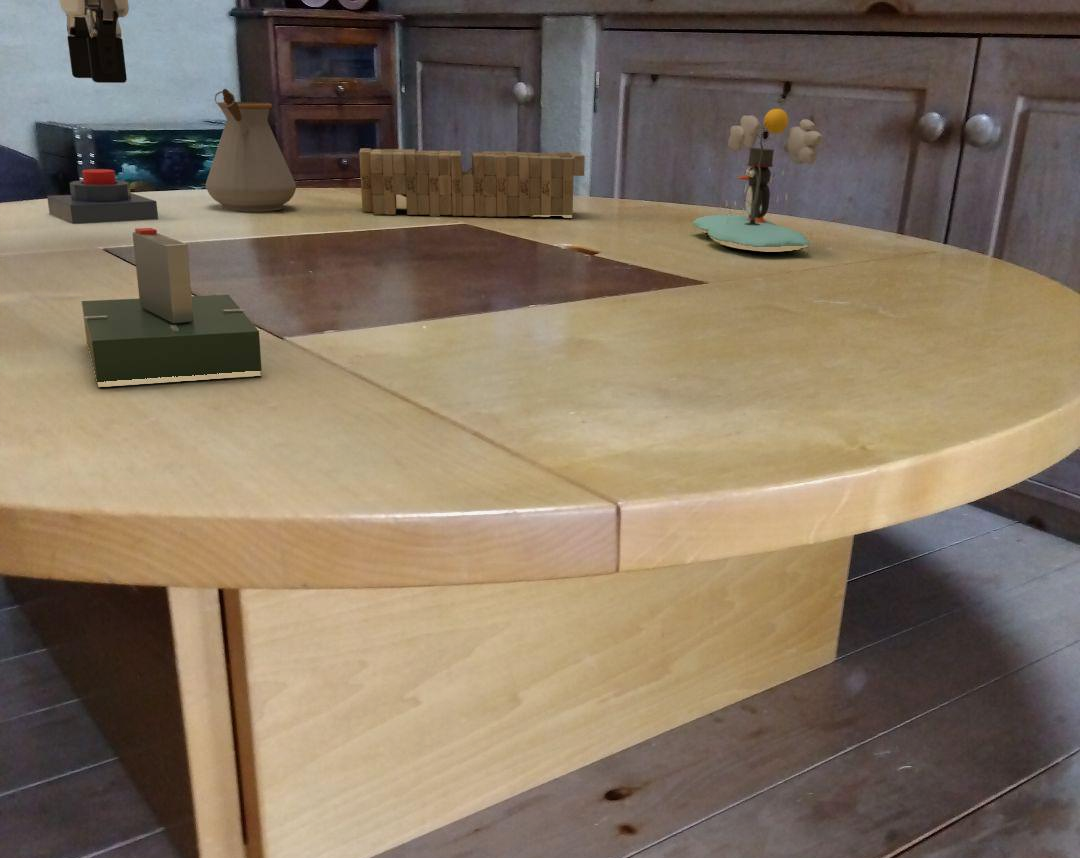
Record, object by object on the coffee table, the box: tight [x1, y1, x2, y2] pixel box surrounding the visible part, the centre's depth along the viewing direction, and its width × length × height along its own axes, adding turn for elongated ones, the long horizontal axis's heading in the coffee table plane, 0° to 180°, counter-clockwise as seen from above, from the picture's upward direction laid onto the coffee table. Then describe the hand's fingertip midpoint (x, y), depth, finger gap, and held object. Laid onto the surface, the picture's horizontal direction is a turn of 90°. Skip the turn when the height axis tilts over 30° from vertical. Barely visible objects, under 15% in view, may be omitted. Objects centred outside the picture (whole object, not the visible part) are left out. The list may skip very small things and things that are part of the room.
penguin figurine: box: [691, 108, 823, 247], centre depth 130 cm, size 20×11×15 cm, turn 6°
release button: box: [81, 168, 117, 185], centre depth 133 cm, size 4×4×2 cm
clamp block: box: [81, 294, 263, 383], centre depth 75 cm, size 10×12×3 cm
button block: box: [46, 179, 159, 225], centre depth 134 cm, size 10×9×4 cm
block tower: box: [358, 147, 586, 217], centre depth 149 cm, size 8×8×29 cm
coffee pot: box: [205, 88, 297, 213], centre depth 140 cm, size 21×12×15 cm, turn 5°
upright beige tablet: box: [132, 227, 194, 324], centre depth 74 cm, size 6×1×5 cm, turn 38°
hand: (99, 80), depth 114 cm, fingers open, 9 cm apart
